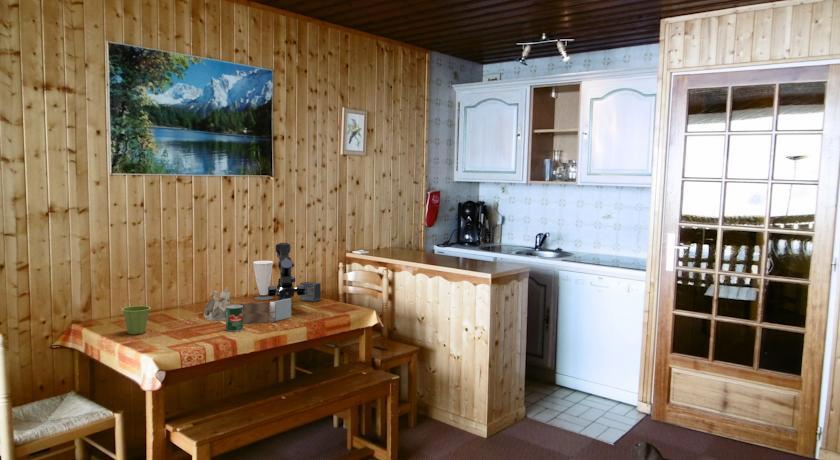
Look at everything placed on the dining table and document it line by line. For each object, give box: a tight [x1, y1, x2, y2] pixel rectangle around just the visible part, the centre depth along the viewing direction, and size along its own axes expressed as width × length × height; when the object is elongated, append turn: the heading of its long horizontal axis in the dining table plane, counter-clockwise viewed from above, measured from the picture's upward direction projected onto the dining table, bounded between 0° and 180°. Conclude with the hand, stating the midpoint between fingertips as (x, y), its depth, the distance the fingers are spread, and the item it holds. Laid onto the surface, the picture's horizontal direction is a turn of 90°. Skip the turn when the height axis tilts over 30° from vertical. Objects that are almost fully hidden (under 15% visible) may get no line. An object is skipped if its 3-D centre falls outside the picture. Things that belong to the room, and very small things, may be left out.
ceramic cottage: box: [203, 287, 232, 322], centre depth 303 cm, size 16×16×15 cm
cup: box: [252, 260, 275, 301], centre depth 352 cm, size 12×12×22 cm
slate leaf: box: [269, 297, 292, 322], centre depth 299 cm, size 13×2×10 cm, turn 146°
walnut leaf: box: [238, 301, 276, 325], centre depth 293 cm, size 17×2×10 cm, turn 106°
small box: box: [299, 281, 322, 303], centre depth 348 cm, size 11×6×10 cm, turn 65°
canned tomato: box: [225, 304, 244, 332], centre depth 280 cm, size 8×8×11 cm
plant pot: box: [121, 305, 151, 335], centre depth 271 cm, size 12×12×11 cm
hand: (287, 304), depth 306 cm, fingers closed
